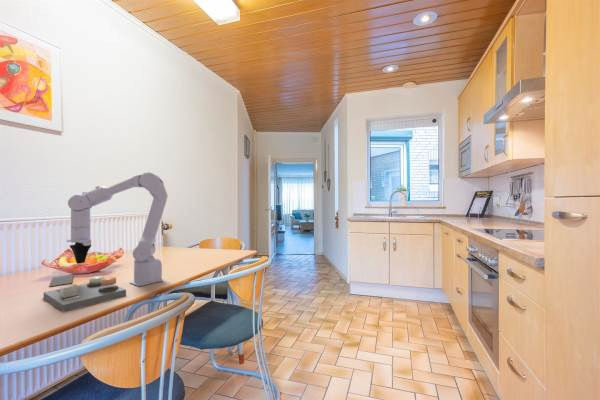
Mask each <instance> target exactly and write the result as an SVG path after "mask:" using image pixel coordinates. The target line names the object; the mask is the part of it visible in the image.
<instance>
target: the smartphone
mask: <svg viewBox="0 0 600 400" xmlns="http://www.w3.org/2000/svg"><path fill="white" fill-rule="evenodd" d="M74 276H75V275H74V274H68V275H67V274H66V275H59V276H53V277H52V278H51V281H50V283H49V286H48V288H53V287H62V286H67V285H72V284H74V283H73V282H74Z"/></svg>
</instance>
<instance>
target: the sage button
mask: <svg viewBox="0 0 600 400" xmlns="http://www.w3.org/2000/svg"><path fill="white" fill-rule="evenodd" d="M103 278H105V276H104V275H97V276H92V277H89V278H88V279H89V280H88V281H89V282H88V283H89V284H100V283H101V279H103Z"/></svg>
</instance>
